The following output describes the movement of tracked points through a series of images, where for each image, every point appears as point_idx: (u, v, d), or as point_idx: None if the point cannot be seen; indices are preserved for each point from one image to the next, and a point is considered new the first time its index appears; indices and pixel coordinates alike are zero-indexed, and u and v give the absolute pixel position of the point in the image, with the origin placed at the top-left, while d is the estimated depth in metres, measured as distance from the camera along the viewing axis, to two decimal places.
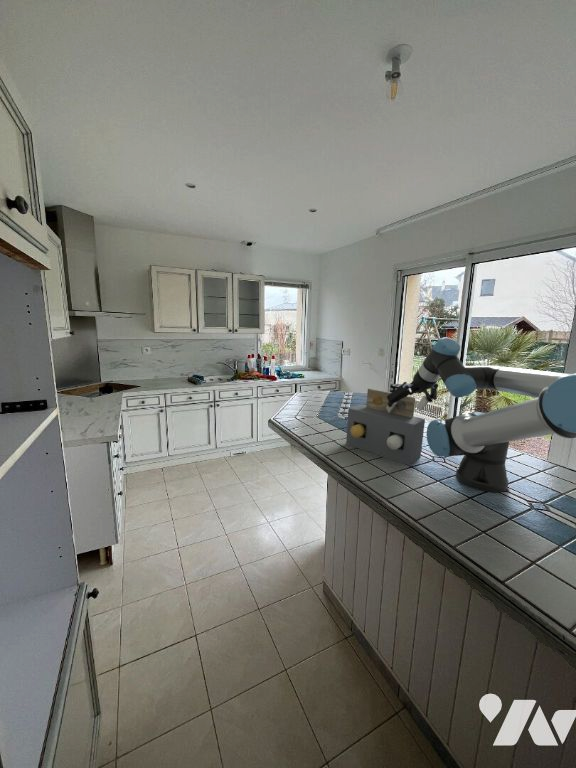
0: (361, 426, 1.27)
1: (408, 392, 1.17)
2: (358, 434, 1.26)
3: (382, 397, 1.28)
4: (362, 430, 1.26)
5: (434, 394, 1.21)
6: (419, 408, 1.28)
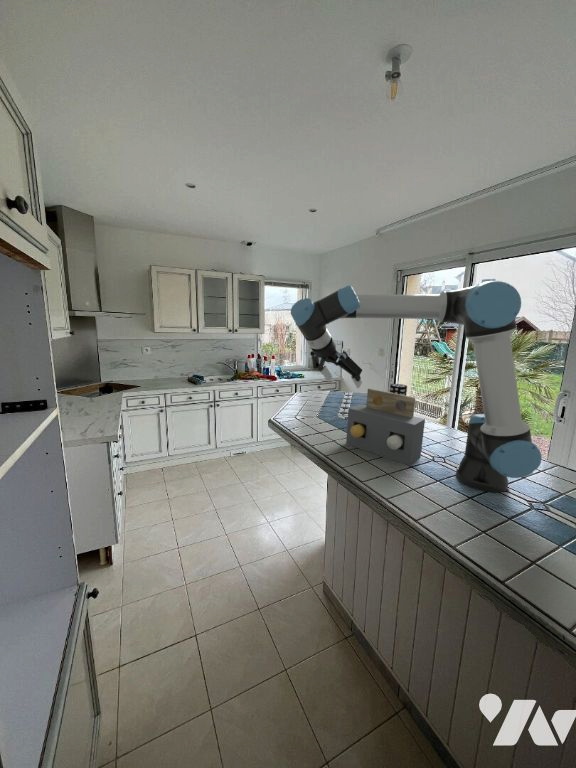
0: (361, 426, 1.27)
1: None
2: (358, 434, 1.26)
3: (382, 397, 1.28)
4: (362, 430, 1.26)
5: None
6: (330, 376, 1.19)
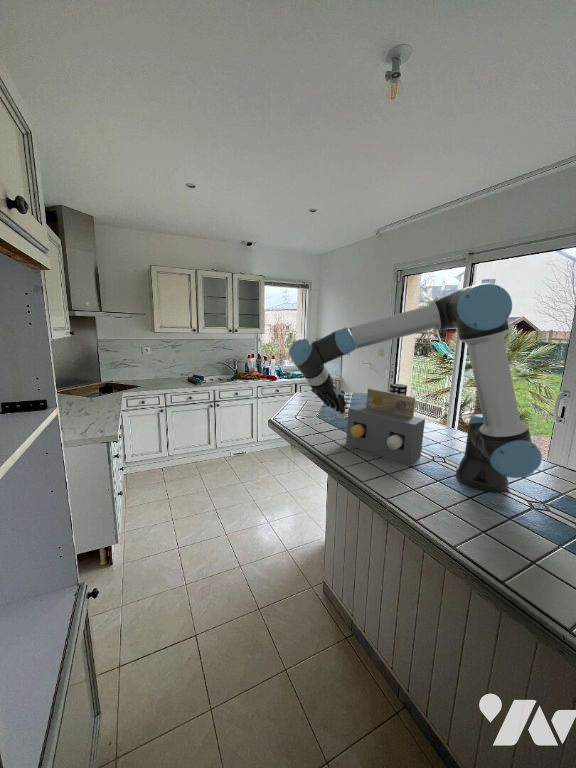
0: (361, 426, 1.27)
1: (335, 394, 1.09)
2: (358, 434, 1.26)
3: (382, 397, 1.28)
4: (362, 430, 1.26)
5: None
6: (343, 413, 1.18)
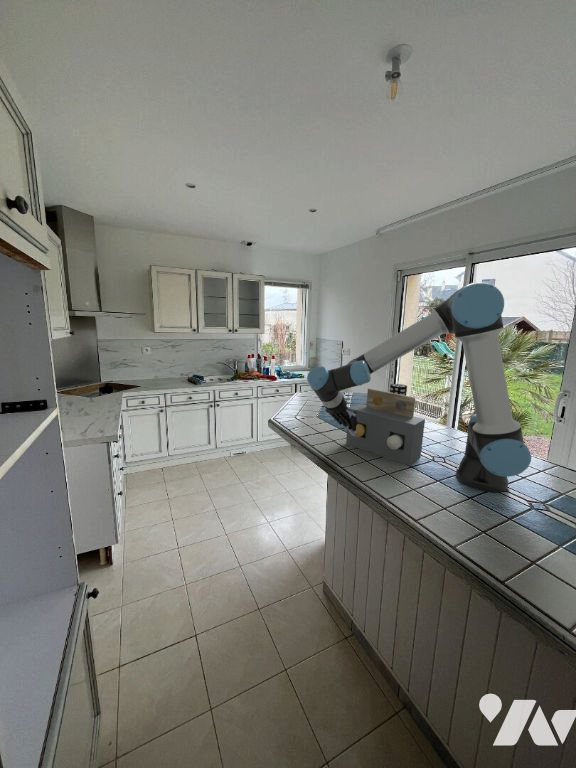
0: (362, 426, 1.28)
1: (348, 414, 1.17)
2: (359, 434, 1.27)
3: (382, 397, 1.28)
4: (363, 430, 1.27)
5: None
6: (354, 430, 1.27)
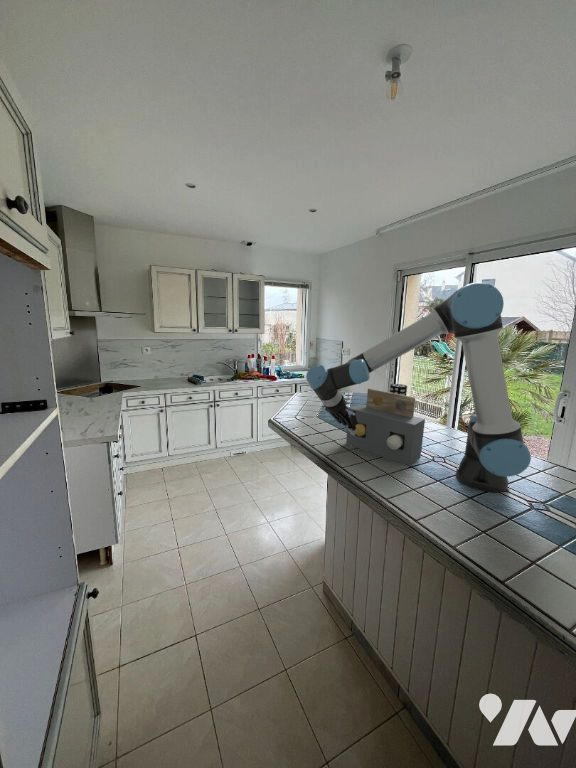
0: (364, 425, 1.29)
1: (347, 413, 1.17)
2: (361, 432, 1.28)
3: (382, 397, 1.28)
4: (365, 429, 1.28)
5: None
6: None
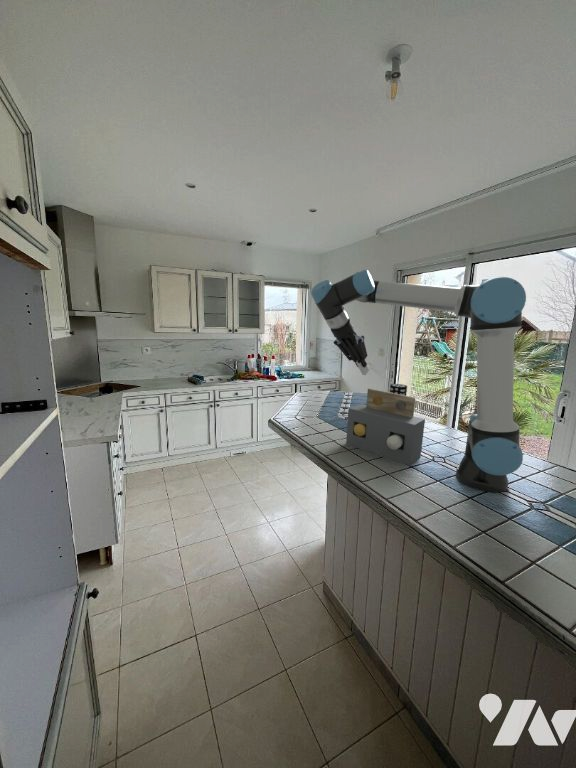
0: (364, 425, 1.29)
1: (356, 343, 1.13)
2: (361, 432, 1.28)
3: (382, 397, 1.28)
4: (365, 429, 1.28)
5: None
6: None
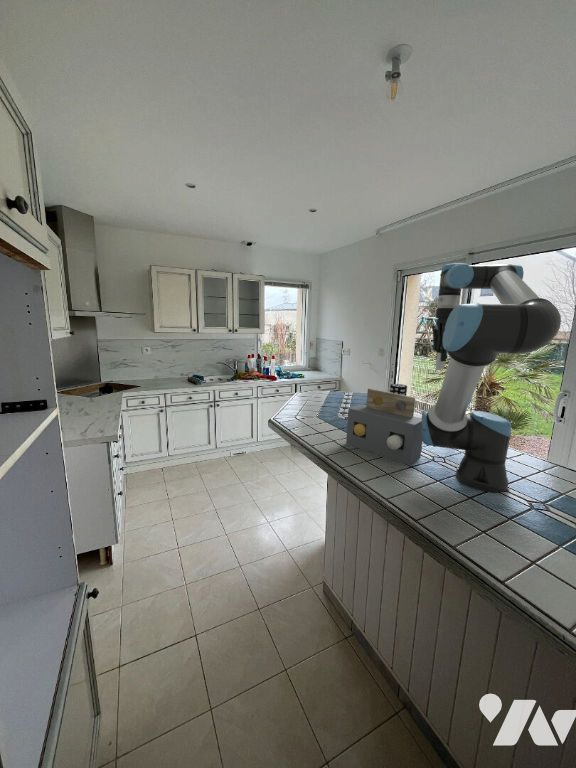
0: (364, 425, 1.29)
1: None
2: (361, 432, 1.28)
3: (382, 397, 1.28)
4: (365, 429, 1.28)
5: None
6: None
